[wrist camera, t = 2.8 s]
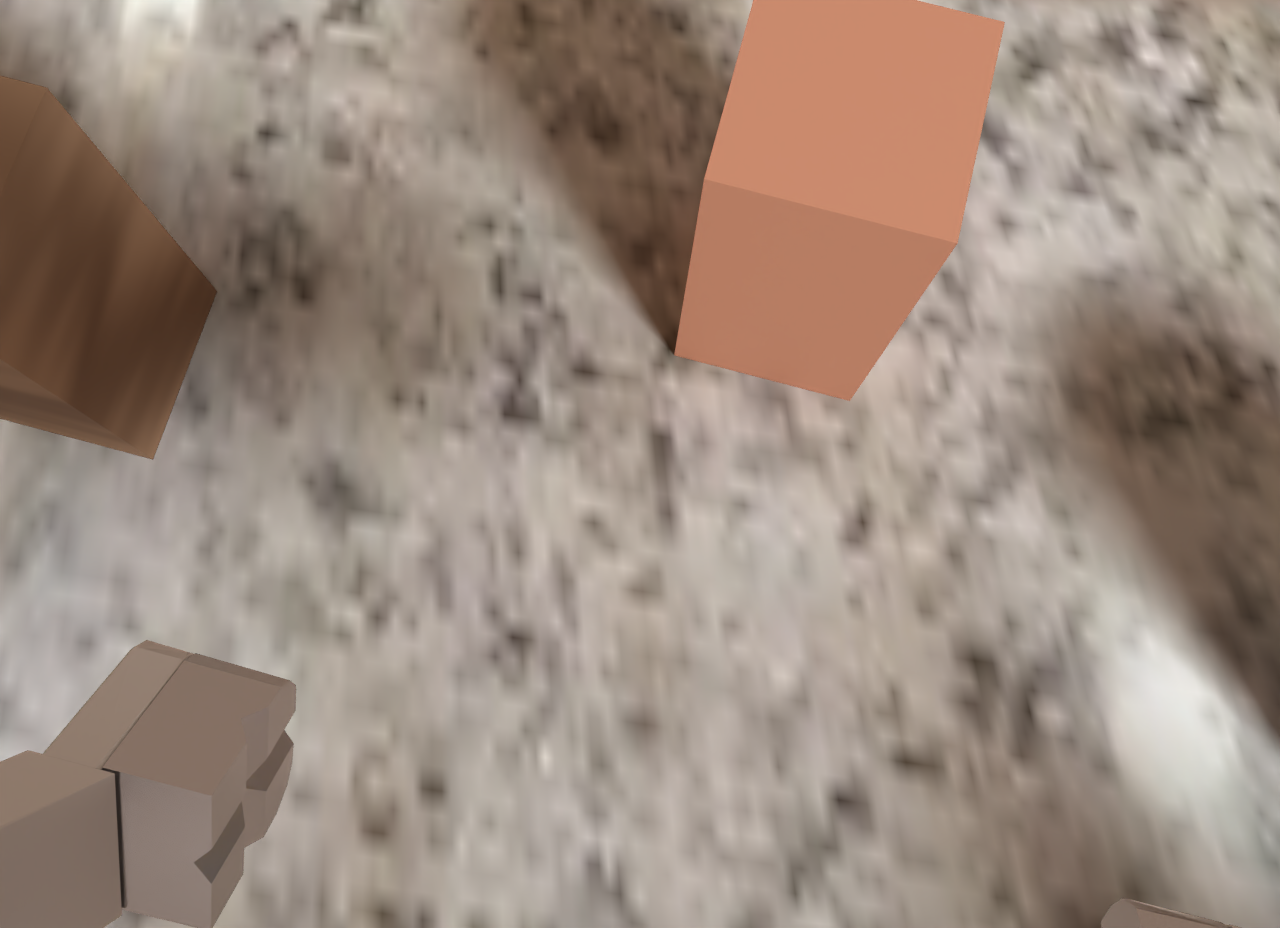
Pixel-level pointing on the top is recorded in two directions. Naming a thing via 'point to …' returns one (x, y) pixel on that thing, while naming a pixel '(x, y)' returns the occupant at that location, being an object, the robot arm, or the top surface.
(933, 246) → the terracotta block
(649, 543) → the top surface
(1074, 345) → the top surface
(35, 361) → the walnut block
